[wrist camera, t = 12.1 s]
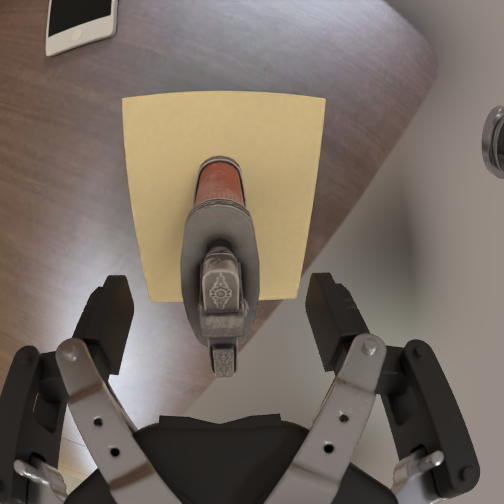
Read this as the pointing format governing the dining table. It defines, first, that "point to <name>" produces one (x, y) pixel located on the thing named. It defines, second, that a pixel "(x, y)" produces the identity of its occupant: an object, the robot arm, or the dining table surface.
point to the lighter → (220, 264)
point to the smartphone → (79, 23)
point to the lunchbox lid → (252, 167)
